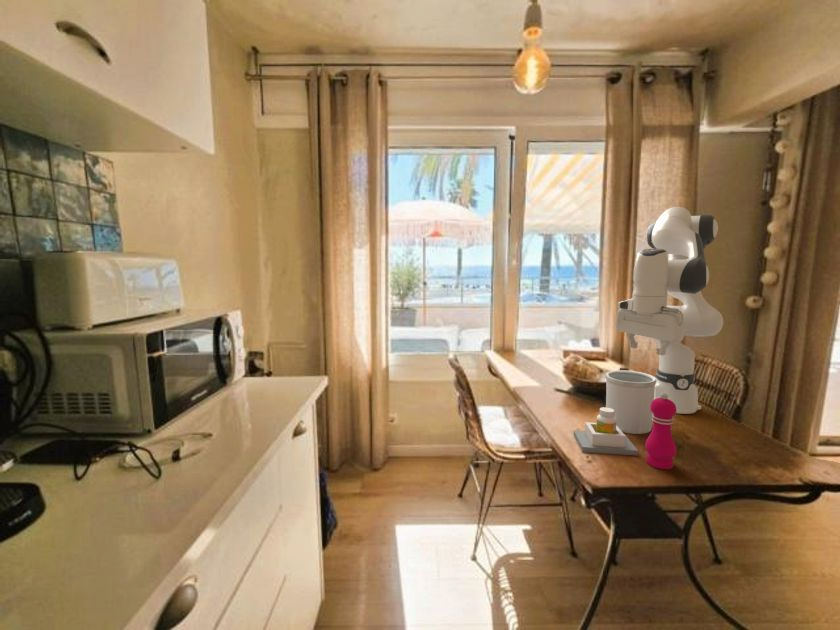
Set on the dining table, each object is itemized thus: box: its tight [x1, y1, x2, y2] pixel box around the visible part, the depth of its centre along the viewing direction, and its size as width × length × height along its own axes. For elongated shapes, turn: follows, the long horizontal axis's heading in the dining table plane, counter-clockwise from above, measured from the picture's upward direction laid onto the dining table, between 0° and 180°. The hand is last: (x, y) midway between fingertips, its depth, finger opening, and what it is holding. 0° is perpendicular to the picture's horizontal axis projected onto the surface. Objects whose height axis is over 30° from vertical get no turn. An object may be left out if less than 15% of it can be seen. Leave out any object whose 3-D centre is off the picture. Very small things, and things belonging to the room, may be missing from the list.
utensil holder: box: [605, 369, 656, 435], centre depth 131 cm, size 15×15×18 cm
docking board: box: [573, 421, 639, 456], centre depth 118 cm, size 12×15×5 cm
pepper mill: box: [644, 393, 677, 470], centre depth 105 cm, size 7×7×20 cm
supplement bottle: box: [596, 406, 616, 434], centre depth 117 cm, size 5×5×10 cm
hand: (646, 351), depth 116 cm, fingers open, 8 cm apart
